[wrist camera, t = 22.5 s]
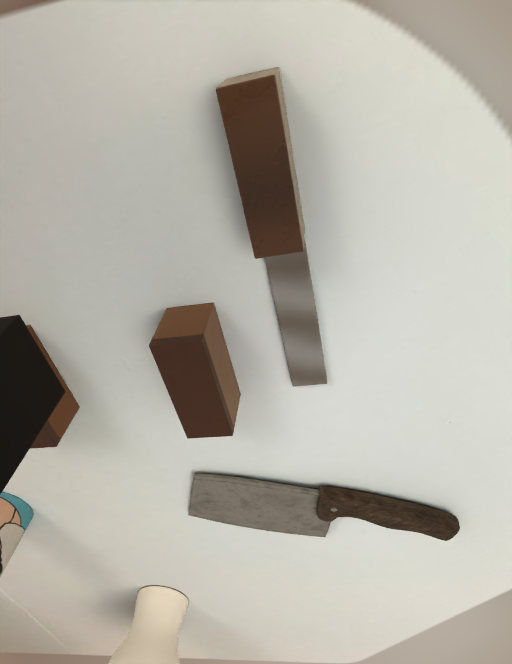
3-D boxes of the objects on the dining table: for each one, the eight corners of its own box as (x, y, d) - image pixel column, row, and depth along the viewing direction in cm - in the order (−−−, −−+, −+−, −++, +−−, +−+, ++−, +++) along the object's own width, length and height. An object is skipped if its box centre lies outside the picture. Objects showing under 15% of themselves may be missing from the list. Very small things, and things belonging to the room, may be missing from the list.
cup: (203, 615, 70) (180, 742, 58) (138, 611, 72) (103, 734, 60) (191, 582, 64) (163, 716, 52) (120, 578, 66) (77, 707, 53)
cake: (-47, 335, 41) (-87, 371, 37) (30, 324, 39) (-2, 361, 35) (10, 412, 46) (-19, 452, 42) (79, 406, 45) (56, 446, 41)
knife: (225, 79, 26) (215, 88, 23) (279, 66, 26) (275, 74, 23) (291, 382, 40) (290, 411, 37) (328, 379, 39) (329, 408, 36)
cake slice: (166, 307, 36) (148, 345, 32) (213, 302, 36) (201, 340, 32) (199, 397, 42) (187, 438, 38) (240, 394, 41) (233, 436, 37)
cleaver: (464, 498, 47) (469, 517, 45) (438, 547, 52) (442, 566, 51) (185, 465, 49) (180, 482, 47) (189, 516, 54) (185, 533, 53)
